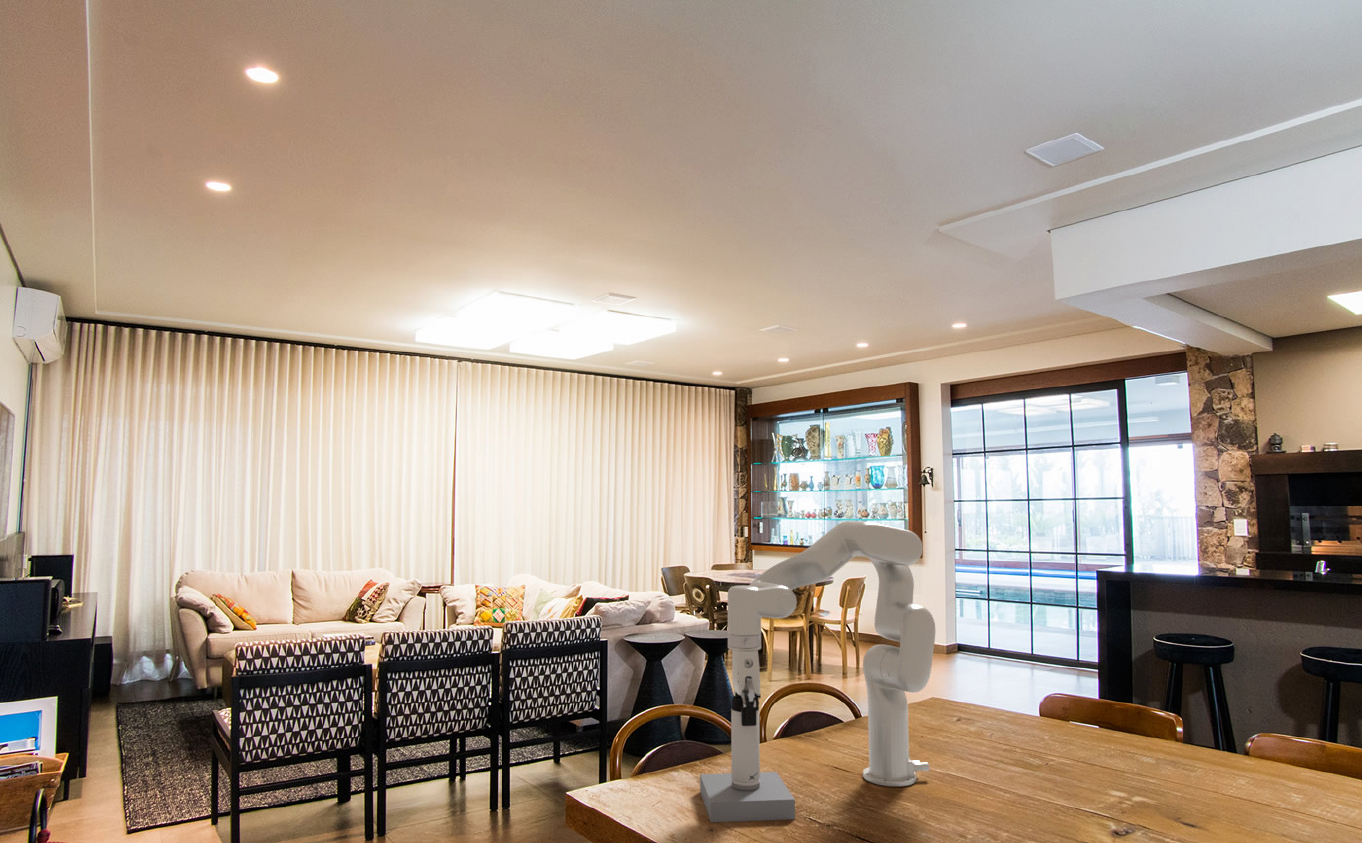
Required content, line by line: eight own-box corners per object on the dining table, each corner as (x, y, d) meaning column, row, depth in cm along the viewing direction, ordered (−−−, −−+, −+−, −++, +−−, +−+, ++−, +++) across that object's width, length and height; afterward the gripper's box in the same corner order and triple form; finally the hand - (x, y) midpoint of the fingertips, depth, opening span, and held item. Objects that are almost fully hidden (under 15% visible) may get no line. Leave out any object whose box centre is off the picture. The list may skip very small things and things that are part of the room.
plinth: (776, 789, 189) (776, 771, 189) (795, 818, 171) (794, 799, 172) (700, 791, 187) (700, 774, 188) (710, 822, 169) (710, 802, 170)
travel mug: (759, 792, 176) (759, 697, 178) (729, 789, 177) (729, 696, 179) (762, 782, 182) (762, 691, 184) (733, 780, 183) (733, 689, 185)
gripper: (768, 647, 175) (769, 729, 173) (753, 635, 192) (754, 709, 190) (734, 648, 174) (734, 730, 172) (722, 635, 191) (722, 710, 189)
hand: (744, 719), depth 181 cm, fingers open, 9 cm apart
